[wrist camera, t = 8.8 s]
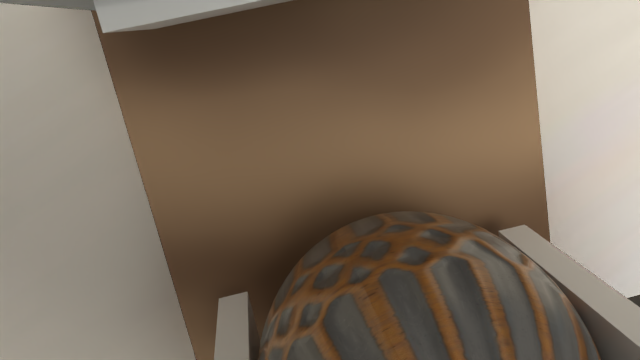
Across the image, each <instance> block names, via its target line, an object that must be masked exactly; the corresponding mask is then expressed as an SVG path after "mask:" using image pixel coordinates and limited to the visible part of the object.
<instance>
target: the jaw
mask: <svg viewBox="0 0 640 360" xmlns="http://www.w3.org/2000/svg"><path fill="white" fill-rule="evenodd" d="M288 1H292V0H0V3H8V4H20V5H32V6H45V7H57V8H70V9H82V10H95V11H96V12H97V15H98V18H99V22H100V25H101V28H102V32H103V33H109V32H122V31H135V30H149V29H157V28H162V27H166V26H171V25H176V24H181V23H186V22H191V21H195V20H200V19H205V18H210V17H215V16H220V15H225V14H229V13H234V12H239V11H244V10H249V9H254V8H258V7H263V6H268V5H273V4H278V3H283V2H288Z"/></svg>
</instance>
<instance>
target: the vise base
mask: <svg viewBox="0 0 640 360" xmlns="http://www.w3.org/2000/svg"><path fill="white" fill-rule="evenodd" d="M91 11H92V15H93V18H94V21H95V25H96V28H97V31H98V35H99V38H100V41H101V45H102V48H103V51H104V55H105V58H106V61H107V65H108V68H109V71H110V75H111V78H112V81H113V85H114V88H115V91H116V94H117V98H118V101H119V104H120V108H121V111H122V114H123V118H124V121H125V124H126V128H127V131H128V134H129V138H130V141H131V144H132V148H133V151H134V154H135V158H136V161H137V164H138V168H139V171H140V174H141V178H142V181H143V184H144V188H145V191H146V194H147V197H148V201H149V204H150V207H151V211H152V214H153V217H154V221H155V224H156V227H157V231H158V234H159V237H160V241H161V244H162V247H163V251H164V254H165V257H166V261H167V264H168V267H169V271H170V274H171V277H172V281H173V284H174V287H175V291H176V294H177V297H178V300H179V304H180V307H181V310H182V314H183V317H184V320H185V324H186V327H187V330H188V334H189V337H190V340H191V344H192V347H193V350H194V354H195V357H196V360H214V352H215V340H216V327H217V315H218V303H219V298H223V297H227V296H231V295H235V294H239V293H243V292H248V295H249V299H250V303H251V307H252V311H253V314H254V318H255V322H256V326H257V330H258V334H259V337H260V341H261V337H262V332H263V329H264V326H265V322H266V319H267V317H268V314H269V311H270V308H271V306H272V303H273V301H274V299H275V297H276V295H277V293H278V291H279V289H280V287H281V286H282V284H283V282H284V281H285V279H286V278H287V276H288V275H289V273H290V272H291V271H292V269H293V268H294V266H295V265H296V264H297V263H298V262H299V260H300V259H301V258H302V257H303V256H304V255H305V254H306V253H307V252H308V251H309V250H310V249H311V248H313V247H314V246H315V245H316V244H317V243H319V242H320V241H321V240H323V239H324V238H325V237H327V236H328V235H330V234H331V233H333V232H335V231H336V230H338V229H340V228H342V227H344V226H346V225H348V224H350V223H352V222H355V221H358V220H360V219H363V218H367V217H370V216H374V215H378V214H383V213H390V212H401V211H415V212H428V213H436V214H441V215H446V216H450V217H454V218H457V219H460V220H463V221H466V222H469V223H472V224H475V225H477V226H479V227H481V228H484V229H486V230H487V231H489V232H491V233H493V234H495V235H496V236H498V237H499V234H498V231H500V230H504V229H508V228H513V227H517V226H521V225H526V226H528V227H529V228H530V229H532V230H533V231H534V232H536V233H537V234H539V235H540V236H541V237H543V238H544V239H546V240H547V241H548V242H550V235H549V223H548V212H547V201H546V190H545V179H544V168H543V157H542V146H541V135H540V124H539V112H538V101H537V90H536V79H535V68H534V57H533V46H532V35H531V24H530V12H529V1H528V0H292V1H288V2H283V3H278V4H273V5H268V6H263V7H258V8H254V9H249V10H244V11H239V12H234V13H229V14H225V15H220V16H215V17H210V18H205V19H200V20H195V21H191V22H186V23H181V24H176V25H171V26H166V27H162V28H157V29H149V30H135V31H122V32H109V33H103V32H102V28H101V25H100V22H99V18H98V15H97V12H96V11H95V10H91Z"/></svg>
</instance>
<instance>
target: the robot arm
mask: <svg viewBox="0 0 640 360" xmlns="http://www.w3.org/2000/svg"><path fill="white" fill-rule="evenodd" d="M498 234H499V237H500V238H501V239H503V240H505V241H506V242H508V243H509V244H511V245H512V246H514V247H515V248H516V249H518V250H519V251H520V252H522V253H523V254H524V255H526V256H527V257H528V258H529V259H531V260H532V261H533V262H534V263H535V264H537V265H538V266H539V267H540V268H541V269H542V270H543V271H544V272H545V273H546V274H547V275H548V276H549V277H550V278H551V279H552V280H553V281H554V282H555V283H556V284H557V286H558V287H559V288H560V289H561V290H562V292H563V293H564V294H565V295H566V297H567V298H568V299H569V301H570V302H571V303H572V305H573V306H574V308H575V309H576V311H577V312H578V314H579V316H580V317H581V319H582V321H583V322H584V324H585V326H586V328H587V330H588V331H589V333H590V335H591V337H592V339H593V341H594V343H595V345H596V347H597V350H598V352H599V354H600V357H601V359H602V360H640V295H638V296H634V297H630V298H626V297H625V296H623V295H622V294H621V293H619V292H618V291H616V290H615V289H614V288H612V287H611V286H609V285H608V284H607V283H605V282H604V281H603V280H601V279H600V278H598V277H597V276H596V275H594V274H593V273H591V272H590V271H589V270H587V269H586V268H584V267H583V266H582V265H580V264H579V263H578V262H576V261H575V260H573V259H572V258H571V257H569V256H568V255H566V254H565V253H564V252H562V251H561V250H559V249H558V248H557V247H555V246H554V245H553V244H551V243H550V242H548V241H547V240H546V239H544V238H543V237H541V236H540V235H539V234H537V233H536V232H534V231H533V230H532V229H530V228H529V227H528V226H526V225H521V226H517V227H513V228H508V229H504V230H500V231H498ZM260 342H261V341H260V337H259V334H258V330H257V326H256V322H255V318H254V314H253V311H252V307H251V303H250V299H249V295H248V292H243V293H239V294H235V295H231V296H227V297H223V298H219V303H218V315H217V327H216V340H215V352H214V360H258V358H259V350H260Z"/></svg>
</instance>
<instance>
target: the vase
mask: <svg viewBox="0 0 640 360" xmlns="http://www.w3.org/2000/svg"><path fill="white" fill-rule="evenodd" d="M258 360H602V359H601V357H600V354H599V352H598V350H597V347H596V345H595V343H594V341H593V339H592V337H591V335H590V333H589V331H588V330H587V328H586V326H585V324H584V322H583V321H582V319H581V317H580V316H579V314H578V312H577V311H576V309H575V308H574V306H573V305H572V303H571V302H570V301H569V299H568V298H567V297H566V295H565V294H564V293H563V292H562V290H561V289H560V288H559V287H558V286H557V284H556V283H555V282H554V281H553V280H552V279H551V278H550V277H549V276H548V275H547V274H546V273H545V272H544V271H543V270H542V269H541V268H540V267H539V266H538V265H537V264H535V263H534V262H533V261H532V260H531V259H529V258H528V257H527V256H526V255H524V254H523V253H522V252H520V251H519V250H518V249H516V248H515V247H514V246H512V245H511V244H509V243H508V242H506V241H505V240H503V239H501V238H500V237H498V236H496V235H495V234H493V233H491V232H489V231H487V230H486V229H484V228H481V227H479V226H477V225H475V224H472V223H469V222H466V221H463V220H460V219H457V218H454V217H450V216H446V215H441V214H436V213H428V212H415V211H401V212H390V213H383V214H378V215H374V216H370V217H367V218H363V219H360V220H358V221H355V222H352V223H350V224H348V225H346V226H344V227H342V228H340V229H338V230H336V231H335V232H333V233H331V234H330V235H328V236H327V237H325V238H324V239H323V240H321V241H320V242H319V243H317V244H316V245H315V246H314V247H313V248H311V249H310V250H309V251H308V252H307V253H306V254H305V255H304V256H303V257H302V258H301V259H300V260H299V262H298V263H297V264H296V265H295V266H294V268H293V269H292V271H291V272H290V273H289V275H288V276H287V278H286V279H285V281H284V282H283V284H282V286H281V287H280V289H279V291H278V293H277V295H276V297H275V299H274V301H273V303H272V306H271V308H270V311H269V314H268V317H267V319H266V322H265V326H264V329H263V332H262V337H261V342H260V350H259V358H258Z"/></svg>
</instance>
